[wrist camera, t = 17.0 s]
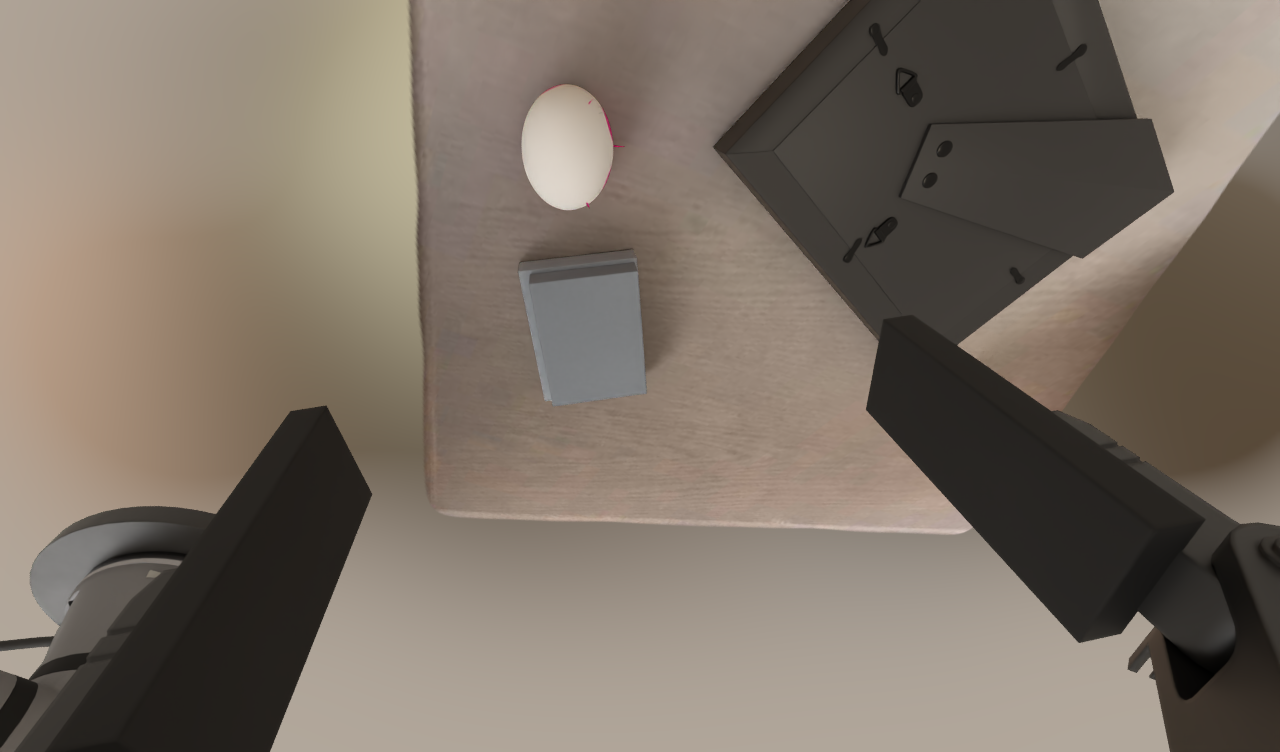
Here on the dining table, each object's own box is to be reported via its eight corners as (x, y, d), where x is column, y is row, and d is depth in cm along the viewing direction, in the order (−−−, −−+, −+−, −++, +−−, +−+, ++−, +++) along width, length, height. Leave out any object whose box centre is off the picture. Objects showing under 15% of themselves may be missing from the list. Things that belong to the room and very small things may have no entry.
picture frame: (1124, 180, 44) (998, -159, 31) (1174, 191, 40) (1056, -187, 27) (896, 361, 50) (712, 146, 37) (921, 384, 47) (729, 156, 34)
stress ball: (589, 187, 41) (646, 210, 37) (499, 199, 36) (554, 227, 32) (592, 78, 37) (657, 91, 33) (491, 75, 32) (554, 90, 28)
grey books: (545, 388, 46) (544, 414, 43) (519, 262, 40) (516, 281, 36) (642, 375, 47) (650, 400, 44) (633, 249, 41) (640, 266, 37)
